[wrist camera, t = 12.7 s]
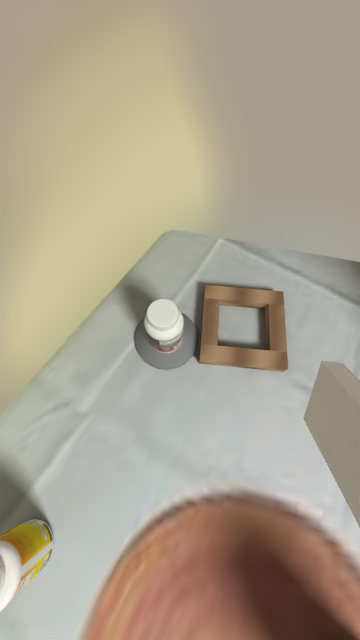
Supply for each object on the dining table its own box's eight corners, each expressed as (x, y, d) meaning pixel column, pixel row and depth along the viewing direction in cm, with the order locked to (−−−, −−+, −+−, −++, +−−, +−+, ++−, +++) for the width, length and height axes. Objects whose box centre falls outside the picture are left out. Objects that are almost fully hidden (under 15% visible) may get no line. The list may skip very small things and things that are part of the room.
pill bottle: (144, 328, 42) (135, 301, 33) (175, 317, 43) (174, 287, 34) (155, 359, 40) (149, 338, 31) (188, 346, 41) (190, 323, 32)
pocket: (278, 297, 45) (283, 291, 43) (283, 371, 40) (288, 368, 38) (204, 290, 46) (205, 284, 44) (198, 363, 41) (199, 359, 39)
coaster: (199, 313, 44) (199, 312, 44) (194, 372, 40) (195, 371, 40) (140, 308, 44) (140, 306, 44) (130, 365, 40) (130, 365, 40)
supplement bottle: (14, 518, 33) (-53, 553, 23) (58, 516, 33) (10, 550, 23) (3, 576, 30) (-75, 641, 21) (51, 574, 31) (-5, 637, 21)
